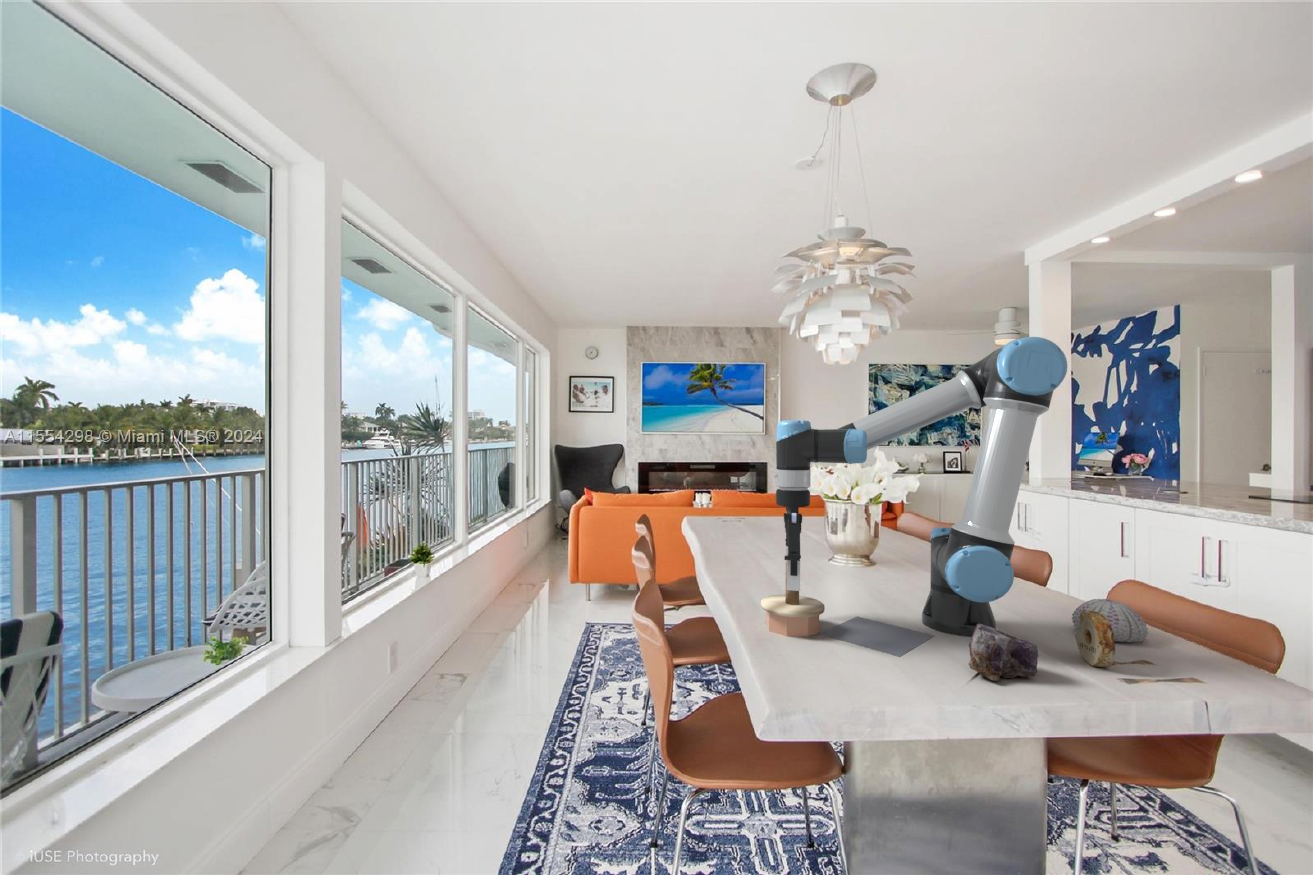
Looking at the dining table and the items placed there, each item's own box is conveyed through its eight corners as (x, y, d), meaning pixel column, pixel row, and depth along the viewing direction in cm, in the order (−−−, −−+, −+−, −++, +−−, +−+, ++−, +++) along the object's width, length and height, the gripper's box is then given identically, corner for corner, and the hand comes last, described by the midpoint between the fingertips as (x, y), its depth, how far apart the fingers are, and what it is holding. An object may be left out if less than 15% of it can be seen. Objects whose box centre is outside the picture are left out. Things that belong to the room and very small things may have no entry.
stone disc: (1120, 675, 106) (1120, 621, 106) (1096, 673, 107) (1096, 619, 107) (1095, 655, 116) (1095, 605, 116) (1073, 652, 117) (1074, 604, 117)
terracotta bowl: (826, 630, 129) (826, 608, 129) (799, 642, 122) (799, 618, 122) (785, 618, 137) (785, 597, 137) (757, 629, 130) (757, 607, 130)
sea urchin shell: (1061, 624, 135) (1062, 590, 135) (1129, 629, 132) (1130, 594, 132) (1087, 643, 122) (1087, 606, 122) (1163, 650, 119) (1163, 611, 119)
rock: (1042, 691, 101) (1005, 667, 111) (1050, 644, 101) (1013, 624, 111) (978, 682, 101) (947, 658, 111) (987, 634, 101) (955, 615, 111)
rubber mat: (935, 637, 125) (935, 635, 125) (899, 658, 113) (899, 656, 113) (857, 618, 138) (857, 616, 138) (818, 635, 126) (818, 633, 126)
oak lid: (836, 608, 129) (836, 563, 129) (802, 621, 120) (803, 573, 120) (783, 595, 139) (783, 554, 139) (748, 607, 130) (748, 562, 130)
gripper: (775, 483, 142) (775, 568, 142) (776, 493, 118) (775, 596, 118) (806, 484, 141) (806, 570, 141) (814, 494, 116) (813, 598, 116)
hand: (792, 582), depth 129 cm, fingers open, 13 cm apart
